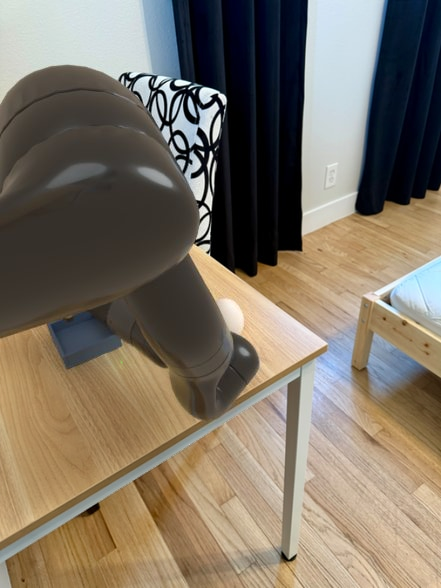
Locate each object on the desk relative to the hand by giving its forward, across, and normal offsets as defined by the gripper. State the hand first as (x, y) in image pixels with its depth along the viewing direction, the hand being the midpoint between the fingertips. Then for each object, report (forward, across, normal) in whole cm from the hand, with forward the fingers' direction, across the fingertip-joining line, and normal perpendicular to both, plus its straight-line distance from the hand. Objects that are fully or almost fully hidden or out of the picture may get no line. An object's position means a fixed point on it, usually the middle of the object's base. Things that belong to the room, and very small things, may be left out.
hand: (70, 266), depth 68 cm
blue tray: (-6, +3, +10) cm, 12 cm away
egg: (-22, -12, +10) cm, 27 cm away
